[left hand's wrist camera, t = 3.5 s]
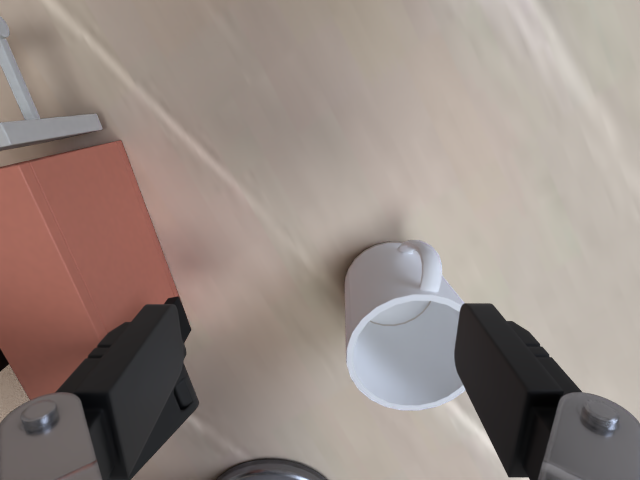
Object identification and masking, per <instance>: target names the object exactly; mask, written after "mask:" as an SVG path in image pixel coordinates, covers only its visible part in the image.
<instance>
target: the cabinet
mask: <svg viewBox="0 0 640 480" xmlns="http://www.w3.org/2000/svg"><path fill="white" fill-rule="evenodd" d="M177 296H179V295H178V292H177V290H176V287H175V284H174V281H173V279H172V276H171V273H170V271H169V268H168V265H167V263H166V260H165V257H164V254H163V252H162V249H161V246H160V244H159V241H158V238H157V236H156V233H155V230H154V227H153V225H152V222H151V219H150V217H149V214H148V211H147V209H146V206H145V203H144V200H143V198H142V195H141V192H140V190H139V187H138V184H137V181H136V179H135V176H134V173H133V171H132V168H131V165H130V163H129V160H128V157H127V154H126V152H125V149H124V146H123V144H122V141H121V140H119V141H115V142H110V143H105V144H101V145H96V146H92V147H87V148H83V149H78V150H73V151H69V152H64V153H60V154H55V155H50V156H46V157H42V158H37V159H33V160H29V161H24V162H20V163H16V164H12V165H7V166H3V167H0V349H1V350H2V352H3V354H4V356H5V357H6V359H7V361H8V363H9V364H10V366H11V368H12V369H13V371H14V373H15V375H16V376H17V378H18V380H19V382H20V383H21V385H22V387H23V389H24V390H25V392H26V394H27V395H28V397H29V399H30V400H32V399H34V398H37V397H39V396H43V395H46V394H50V393H55V392H56V391H57V390H58V389H59V388H60V386H61V385H62V384H63V383H64V382H65V381H66V380H67V379H68V377H69V376H70V375H71V374H72V373H73V372H74V371H75V370H76V368H77V367H78V366H79V365H80V364H81V363H82V362H83V361H84V359H85V358H88V355H89V354H90V353H91V352H92V350H93V349H94V348H97V345H98V344H99V343H100V341H101V340H102V339H103V338H104V337H105V336H106V335H107V334H108V332H110V331H112V330H113V329H115V328H116V327H118V326H120V325H121V324H123V323H124V322H131V321H132V320H133V319H134V318H135V316H136V315H137V314H138V313H139V312H140V310H141V309H142V308H143V307H144V306H145V305H146V304H164V303H165V302H166V300H167V299H168V298H171V297H177ZM180 301H181V300H180ZM183 309H184V308H183Z"/></svg>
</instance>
